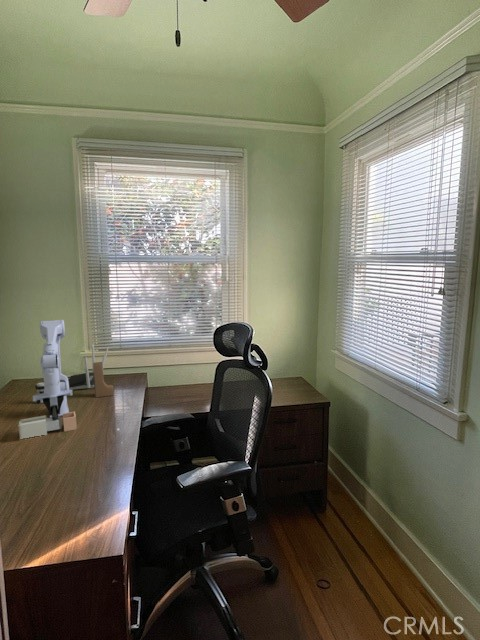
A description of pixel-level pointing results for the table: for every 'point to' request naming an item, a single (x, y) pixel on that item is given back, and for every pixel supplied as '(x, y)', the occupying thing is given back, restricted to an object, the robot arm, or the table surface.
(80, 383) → the wireless router
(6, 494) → the table surface
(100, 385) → the wooden block
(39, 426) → the white channel beam
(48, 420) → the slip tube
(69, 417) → the socket
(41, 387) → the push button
